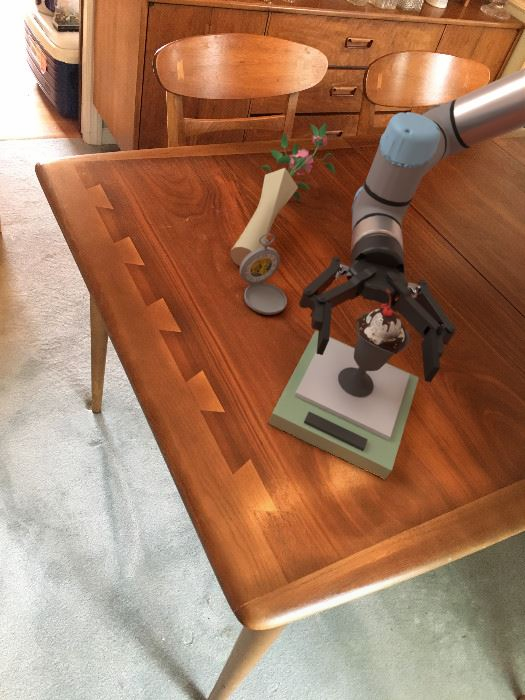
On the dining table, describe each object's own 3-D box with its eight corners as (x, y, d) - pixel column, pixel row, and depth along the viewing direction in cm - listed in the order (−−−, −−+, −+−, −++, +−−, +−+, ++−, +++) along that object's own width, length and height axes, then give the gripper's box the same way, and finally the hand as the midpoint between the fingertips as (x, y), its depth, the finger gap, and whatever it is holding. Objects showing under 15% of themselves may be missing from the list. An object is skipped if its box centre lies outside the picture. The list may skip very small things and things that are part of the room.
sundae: (340, 355, 77) (380, 273, 66) (385, 377, 76) (432, 298, 65) (323, 386, 72) (363, 304, 61) (370, 410, 71) (419, 331, 60)
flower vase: (220, 288, 97) (282, 162, 114) (287, 299, 93) (340, 168, 111) (204, 238, 87) (275, 110, 105) (278, 248, 83) (338, 113, 101)
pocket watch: (272, 323, 83) (289, 272, 75) (225, 297, 84) (237, 244, 77) (296, 295, 88) (314, 245, 81) (251, 271, 90) (265, 220, 82)
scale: (412, 387, 80) (421, 373, 78) (384, 480, 68) (394, 467, 66) (311, 341, 82) (317, 326, 80) (267, 423, 70) (273, 409, 68)
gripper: (446, 294, 84) (462, 404, 69) (287, 253, 82) (269, 356, 68) (470, 256, 78) (493, 366, 64) (300, 210, 77) (283, 312, 62)
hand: (377, 361), depth 66 cm, fingers open, 13 cm apart
